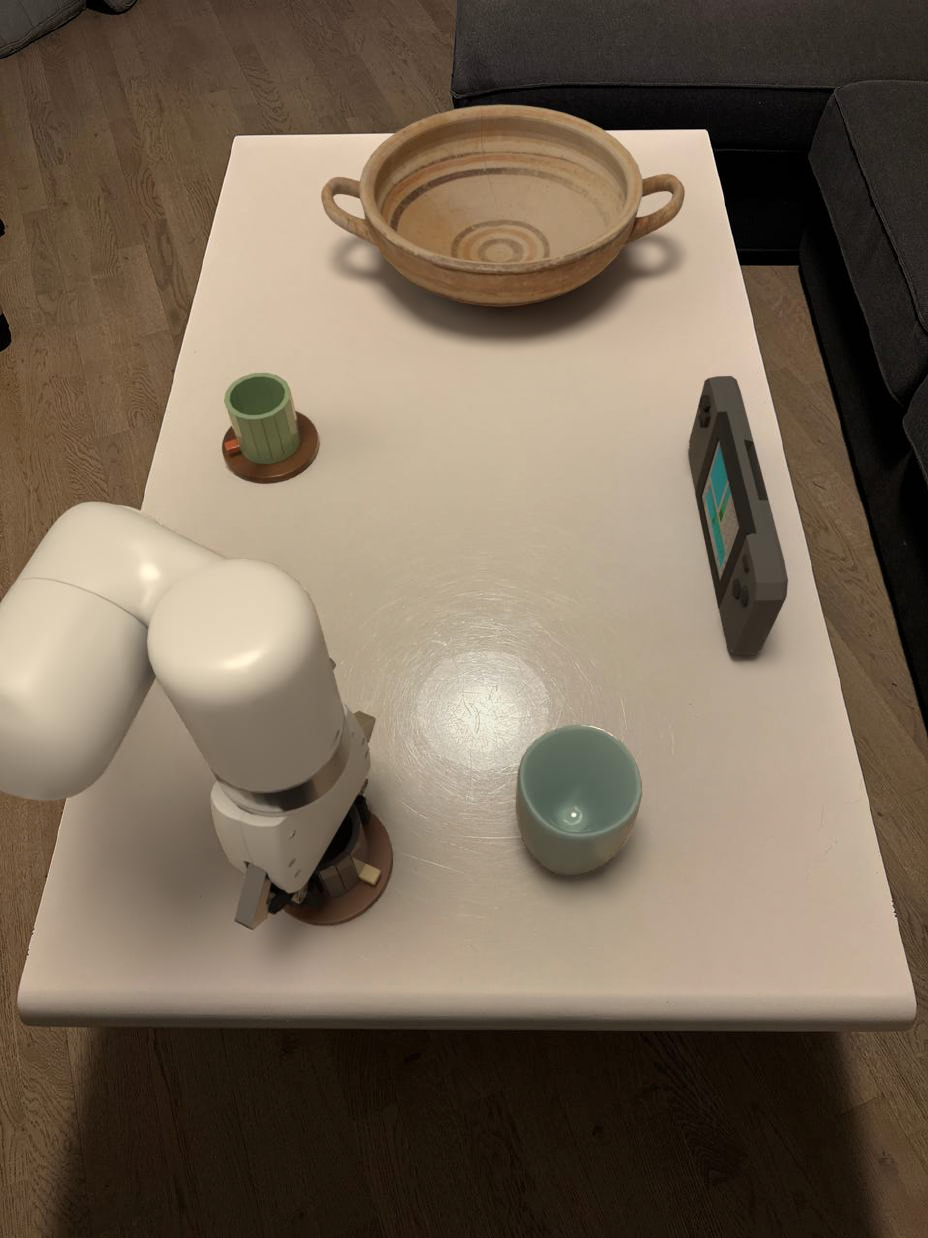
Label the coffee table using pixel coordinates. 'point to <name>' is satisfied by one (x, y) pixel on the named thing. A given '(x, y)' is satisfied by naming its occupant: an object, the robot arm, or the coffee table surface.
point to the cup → (576, 798)
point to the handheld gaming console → (736, 518)
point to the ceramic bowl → (501, 203)
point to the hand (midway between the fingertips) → (326, 853)
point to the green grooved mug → (262, 418)
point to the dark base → (363, 892)
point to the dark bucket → (345, 860)
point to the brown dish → (280, 469)
